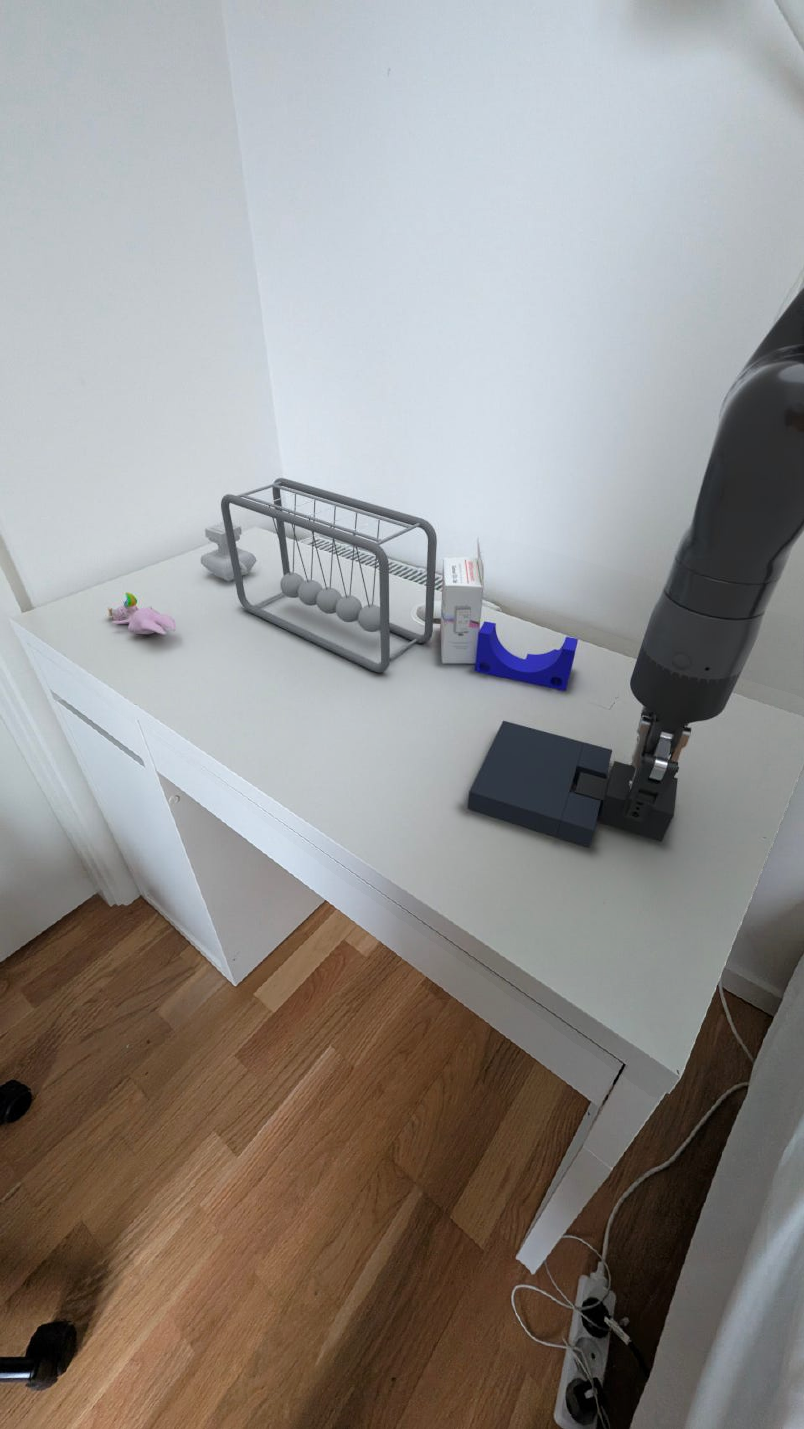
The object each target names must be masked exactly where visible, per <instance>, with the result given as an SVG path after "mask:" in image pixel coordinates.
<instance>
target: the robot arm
mask: <svg viewBox="0 0 804 1429" xmlns="http://www.w3.org/2000/svg"><path fill="white" fill-rule="evenodd" d="M696 498H697V499H696V501H695V506H694V509H693V513H692V517H691V519H690V520H689V521H688V522H687V523H686V526H684V529H683V532H682V534H681V536H680V538H679V541H678V543H677V546H676V549H675V552H674V554H673V557H672V560H671V564H670V566H669V570H668V573H667V576H666V579H665V581H664V586H663V588H662V590H661V593H660V595H659V597H658V599H657V601H656V603H655V605H654V607H653V609H652V612H651V614H650V617H649V621H648V623H647V627H646V629H645V633H644V635H643V639H642V642H641V645H640V648H639V652H638V655H637V658H636V661H635V664H634V667H633V670H632V674H631V677H630V680H629V687H630V690H631V693H632V695H633V697H634V698H635V699H636V700H637V701H638V702H639V703H640V704H641V705H642V709H641V713H640V719H639V722H638V727H637V730H636V733H637V734H638V736H637V738H636V744H635V748H634V751H633V754H632V758H631V763H630V765H632V766H634V767H635V770H634V773H633V777H632V780H630V781H629V785H628V786H630V787H629V790H628V793H627V796H626V798H625V801H624V804H623V807H622V811H621V815H622V816H623V817H625V818H628V819H632V820H635V821H638V822H644V821H645V820H646V818H647V816H648V814H649V811H650V809H651V806H652V805H653V806H656V807H659V805H660V804H661V803H662V799H663V797H664V795H665V793H666V792H667V790H668V788H669V786H670V784H671V782H672V780H673V778H674V777H676V774H678V773H679V769H680V766H679V762H678V761H679V759H680V756H681V753H682V750H683V749H684V748H685V747H687V746H688V742H689V740H690V737H691V734H692V729H693V728H692V726H689V725H690V724H691V723H698V722H705V721H708V720H712V719H714V718H715V717H717V716H719V715H720V714H721V713H722V712H724V710H725V709H726V707H727V704H728V702H729V699H730V697H731V695H732V692H733V691H734V689H735V687H736V685H737V683H738V680H739V678H740V676H741V674H742V672H743V669H744V667H745V665H746V663H747V661H748V658H749V656H750V654H751V652H752V650H753V648H754V646H755V643H756V641H757V638H758V635H759V632H760V629H761V625H762V622H763V618H764V616H765V613H766V610H767V608H768V606H769V604H770V602H771V600H772V597H773V595H774V593H775V591H776V590H777V586H778V585H779V582H780V580H781V579H782V575H783V573H784V570H785V568H786V566H787V564H788V561H789V559H790V558H789V557H790V555H791V552H792V550H793V548H794V546H795V545H796V543H797V542H798V540H799V539H800V537H801V536H802V534H804V285H803V287H802V288H801V289H800V290H799V291H798V293H797V294H796V295H795V297H794V298H793V299H792V301H791V302H790V303H789V304H788V306H787V307H786V308H785V310H784V311H783V312H782V314H781V315H780V316H779V318H778V319H777V321H776V322H775V323H774V324H773V326H772V327H771V328H770V330H769V331H768V332H767V333H766V335H765V336H764V338H763V339H762V341H761V342H760V343H759V345H758V346H757V347H756V349H755V350H754V351H753V353H752V354H751V355H750V356H749V358H748V360H747V361H746V362H745V364H744V366H743V367H742V368H741V370H740V371H739V373H738V375H737V376H736V377H735V379H734V381H733V382H732V384H731V385H730V387H729V388H728V391H727V393H726V395H725V396H724V398H723V402H722V404H721V407H720V410H719V415H718V421H717V426H716V430H715V435H714V438H713V442H712V445H711V449H710V452H709V456H708V460H707V463H706V467H705V471H704V473H703V478H702V480H701V484H700V488H699V492H698V495H697V497H696Z"/></svg>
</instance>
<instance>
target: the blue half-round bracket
mask: <svg viewBox="0 0 804 1429" xmlns="http://www.w3.org/2000/svg"><path fill="white" fill-rule="evenodd" d="M496 625H497V623H495V622H491V621H486V620H485V621H483V623H482V624H481V626H480V630H479V633H478V643H477V653H476V663H474V664H475V665H474V672H476V673H479V674H480V673H482V674H484V675H490V676H494V677H499V678H503V679H508V680H513V681H518V682H522V683H527V684H531V685H536V686H541V687H545V688H550V689H555V690H559V691H564V692H566V691H567V687H568V684H569V680H570V676H571V674H572V669H573V665H574V661H575V655H576V650H577V646H578V641H579V638H575V637H570V636H565V639H564V641H563V643H562V645H561V646H560V648H559V649H556V648H555V649H552V650H550V651H547V652H544V653H539V654H538V653H537V654H535V653H527V654H526V657H525V659H524V658H521V657H518V656H516V655H514V654H513V653H512V652H510V651H509V650H508V649H506V648H505V647H504V646H503V644H502V643H501V641H500V640H499V637H498V634H497V628H496V627H497V626H496Z"/></svg>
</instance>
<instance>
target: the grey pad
mask: <svg viewBox="0 0 804 1429" xmlns="http://www.w3.org/2000/svg"><path fill="white" fill-rule="evenodd" d="M612 754H613V749H611V748H607V747H603V746H600V745H596V744H592V743H588V742H584V741H581V740H578V739H574V738H570V737H567V736H563V735H558V734H555V733H552V732H547V731H545V730H544V731H543V730H540V729H536V728H532V727H528V726H526V725H521V724H518V723H513V722H510V721H507V720H502V722H501V724H500V726H499V728H498V731H497V732H496V734H495V737H494V739H493V741H492V743H491V745H490V748H489V749H488V751H487V753H486V756H485V758H484V760H483V762H482V764H481V766H480V768H479V770H478V773H476V777H475V778H474V781H473V783H472V785H471V787H470V790H469V792H468V801H467V809H468V810H470V811H474V812H477V813H480V814H483V815H487V816H490V817H491V818H496V819H499V820H501V821H505V822H508V823H511V824H514V825H518V826H521V827H523V828H526V829H529V830H533V831H535V832H539V833H542V834H546V835H547V836H552V837H555V838H557V839H561V840H564V841H567V842H570V843H573V844H576V845H579V846H582V847H585V848H590V845H591V842H592V838H593V835H594V832H595V829H596V825H597V821H598V817H599V815H598V811H599V807H600V803H601V801H599V800H596V799H592V798H589V797H586V796H582V795H579V794H576V793H575V792H572V791H571V789H572V786H573V784H575V785H577V783H578V779H579V776H580V772H583V773H586V774H590V775H593V776H597V777H600V778H604V779H607V775H608V772H609V768H610V764H611V759H612Z"/></svg>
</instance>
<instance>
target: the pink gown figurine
mask: <svg viewBox="0 0 804 1429" xmlns="http://www.w3.org/2000/svg"><path fill="white" fill-rule="evenodd" d="M125 595H126V599H125V601H124V600H122V603H123V605H121V606H119V607H117V608H116V609H114V608H112V607H111V608H110V607H109V606H107V609H108V618H111V619H112V622H111V624H112V625H114V626H115V625H125V624H128V626H127V627H128V628H127V629H128V631H129V632H130V633H133V634H140V635H151V634H154V633H158V634H160V635H163V636H166V635H167V632H166V631H165V629H164V628H166V629H169V630H171V631H173V632H175V631H176V629H177V626H176V622H175V620H174V617H172V616H171V615H168V614H161V613H159V611H157V610H156V609H153V607H152V606H148V607H141V608H138V606H137V604H138V599H137V597H135V595H134V594H133V593H130V592H125ZM163 627H164V628H163Z"/></svg>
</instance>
